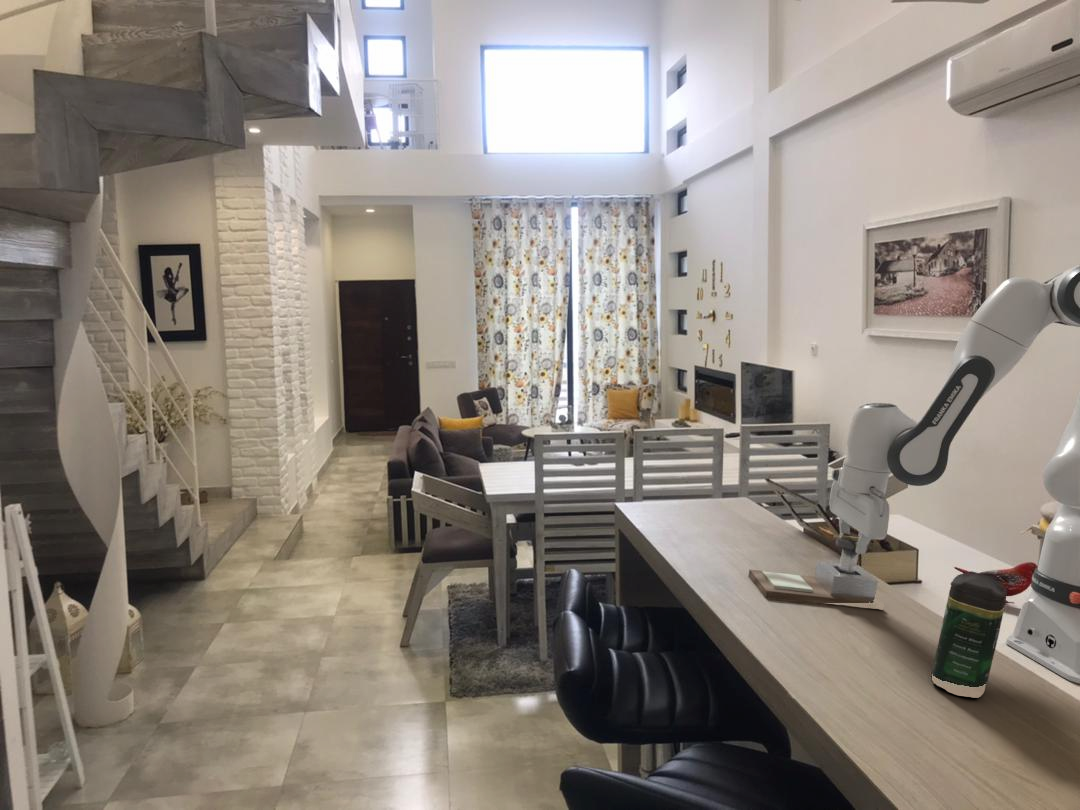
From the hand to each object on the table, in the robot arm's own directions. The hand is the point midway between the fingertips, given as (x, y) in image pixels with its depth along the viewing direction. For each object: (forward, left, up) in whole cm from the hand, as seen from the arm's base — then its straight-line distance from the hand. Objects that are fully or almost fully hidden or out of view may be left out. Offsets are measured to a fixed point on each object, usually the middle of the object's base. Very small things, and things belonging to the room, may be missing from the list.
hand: (851, 546), depth 164 cm
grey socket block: (0, 0, -9) cm, 9 cm away
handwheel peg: (0, 0, -9) cm, 9 cm away
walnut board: (0, +6, -11) cm, 12 cm away
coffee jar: (-37, -4, -11) cm, 39 cm away
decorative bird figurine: (+7, -36, -11) cm, 38 cm away
